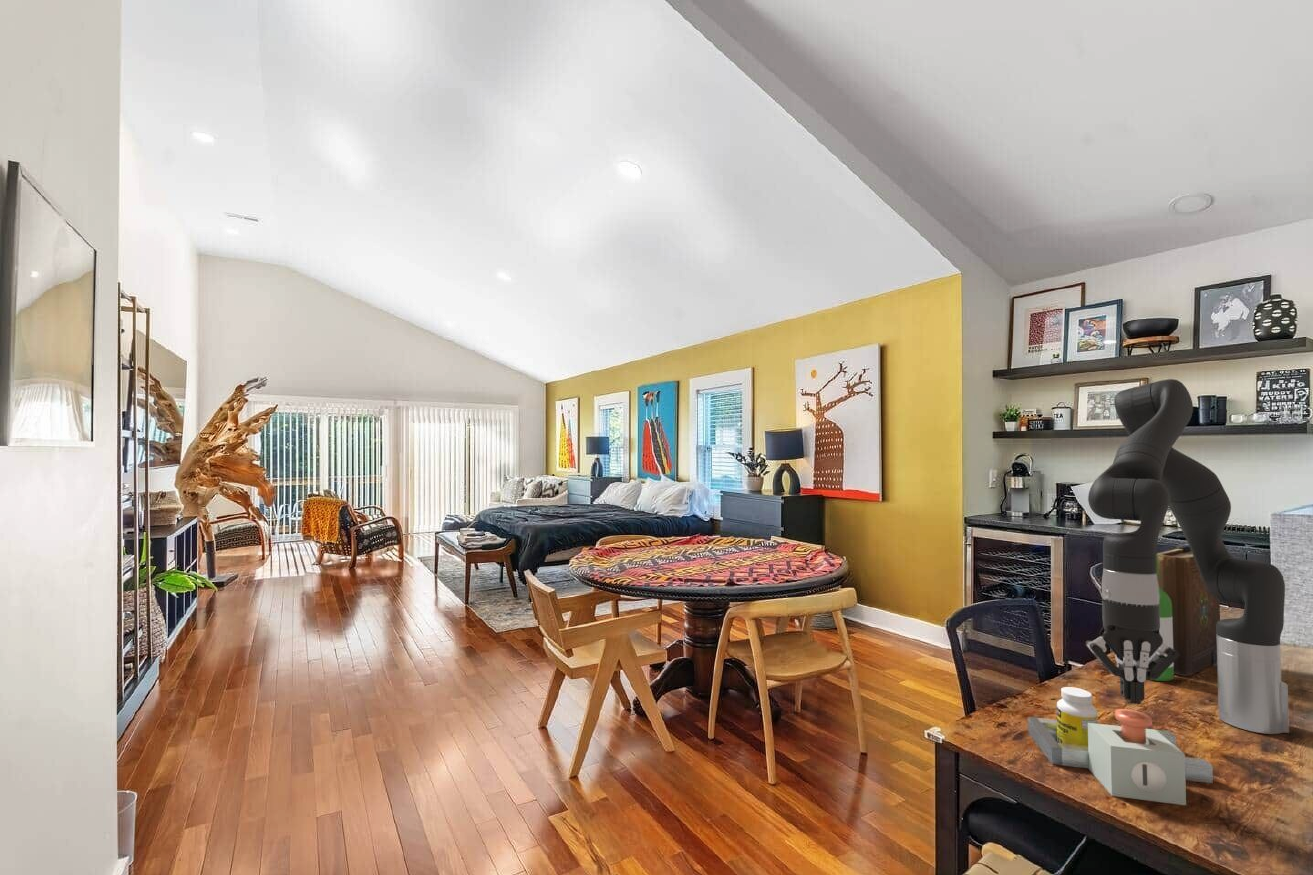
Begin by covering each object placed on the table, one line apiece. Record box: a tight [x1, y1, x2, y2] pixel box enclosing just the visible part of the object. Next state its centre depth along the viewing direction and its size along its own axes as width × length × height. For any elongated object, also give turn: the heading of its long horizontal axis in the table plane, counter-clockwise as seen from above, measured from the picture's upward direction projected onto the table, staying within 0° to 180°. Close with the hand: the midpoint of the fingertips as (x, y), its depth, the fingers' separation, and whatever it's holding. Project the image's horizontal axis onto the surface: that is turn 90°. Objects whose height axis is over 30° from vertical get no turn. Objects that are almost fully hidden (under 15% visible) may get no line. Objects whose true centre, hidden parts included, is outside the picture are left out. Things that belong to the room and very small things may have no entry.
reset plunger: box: [1114, 708, 1153, 744], centre depth 98 cm, size 5×5×4 cm
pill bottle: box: [1056, 686, 1099, 746], centre depth 109 cm, size 6×6×11 cm
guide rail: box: [1027, 716, 1214, 784], centre depth 108 cm, size 24×12×3 cm, turn 75°
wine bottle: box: [1149, 555, 1175, 682], centre depth 146 cm, size 8×8×30 cm
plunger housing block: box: [1088, 723, 1187, 806], centre depth 98 cm, size 10×9×8 cm
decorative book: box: [1156, 543, 1221, 677], centre depth 153 cm, size 23×7×30 cm, turn 122°
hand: (1132, 701), depth 98 cm, fingers closed
